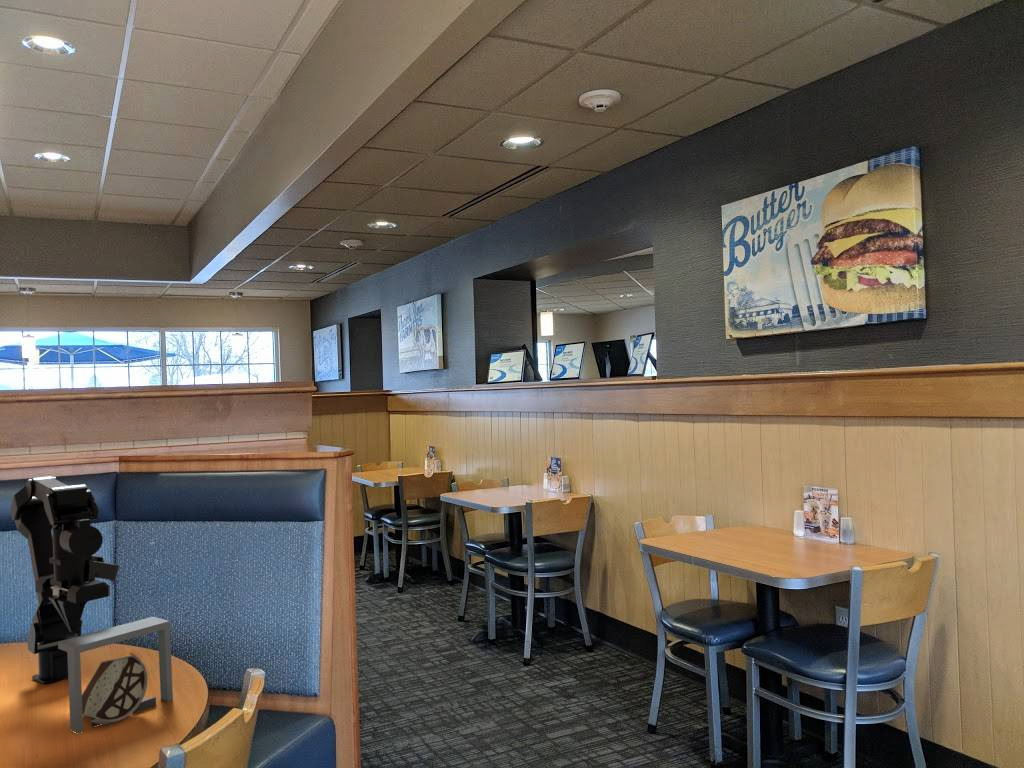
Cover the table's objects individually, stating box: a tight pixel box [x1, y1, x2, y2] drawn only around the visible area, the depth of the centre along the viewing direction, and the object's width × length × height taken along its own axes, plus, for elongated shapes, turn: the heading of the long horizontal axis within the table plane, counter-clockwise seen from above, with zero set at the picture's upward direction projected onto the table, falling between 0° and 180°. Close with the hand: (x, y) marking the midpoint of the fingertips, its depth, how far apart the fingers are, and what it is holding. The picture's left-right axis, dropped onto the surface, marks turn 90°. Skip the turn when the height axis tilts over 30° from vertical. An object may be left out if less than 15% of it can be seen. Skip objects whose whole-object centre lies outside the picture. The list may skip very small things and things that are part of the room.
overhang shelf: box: [58, 616, 174, 734], centre depth 141 cm, size 6×17×15 cm, turn 143°
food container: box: [82, 652, 149, 725], centre depth 141 cm, size 12×6×10 cm
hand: (73, 631), depth 151 cm, fingers closed
